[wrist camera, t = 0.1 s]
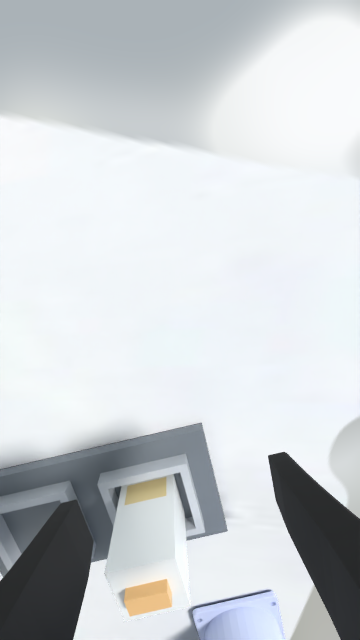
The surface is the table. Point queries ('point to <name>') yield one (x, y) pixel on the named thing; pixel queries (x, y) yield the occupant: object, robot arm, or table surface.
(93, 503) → the panel
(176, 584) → the plug
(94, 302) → the table surface
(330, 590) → the robot arm
